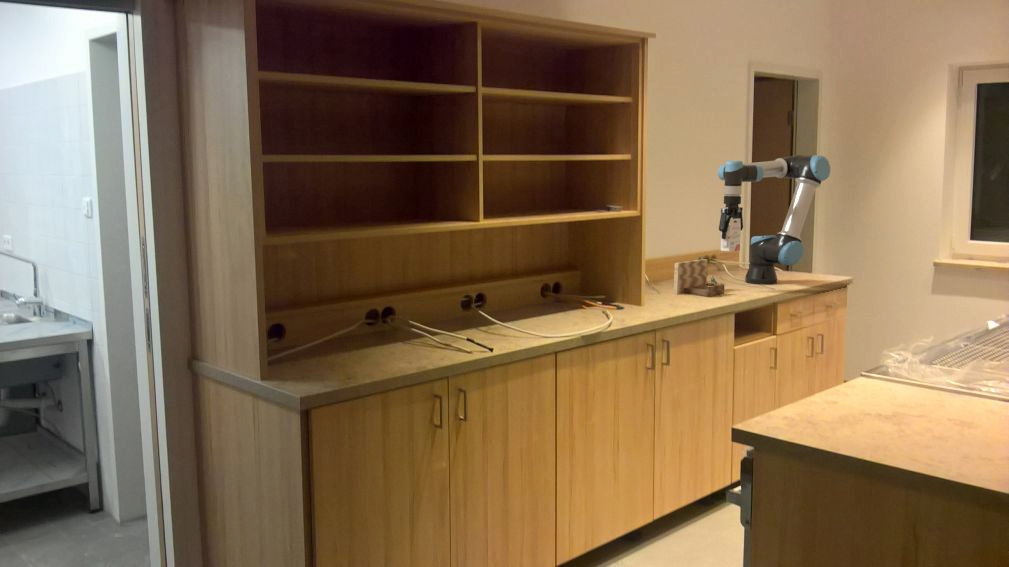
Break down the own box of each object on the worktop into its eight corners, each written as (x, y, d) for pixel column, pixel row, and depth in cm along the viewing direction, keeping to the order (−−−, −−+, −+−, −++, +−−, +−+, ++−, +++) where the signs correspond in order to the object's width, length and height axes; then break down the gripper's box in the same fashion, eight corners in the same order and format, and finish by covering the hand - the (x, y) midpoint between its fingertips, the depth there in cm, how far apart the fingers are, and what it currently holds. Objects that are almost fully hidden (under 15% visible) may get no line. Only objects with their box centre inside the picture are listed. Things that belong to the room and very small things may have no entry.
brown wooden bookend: (702, 289, 394) (703, 259, 391) (730, 293, 383) (731, 262, 380) (673, 293, 379) (674, 262, 377) (701, 298, 368) (702, 266, 366)
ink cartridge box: (730, 249, 390) (732, 217, 388) (740, 250, 386) (741, 218, 384) (719, 250, 384) (721, 218, 382) (729, 251, 381) (730, 219, 378)
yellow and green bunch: (711, 287, 398) (709, 256, 397) (678, 287, 410) (676, 257, 409) (721, 285, 405) (720, 254, 404) (689, 285, 417) (687, 255, 416)
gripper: (738, 194, 391) (736, 243, 395) (711, 195, 377) (709, 246, 381) (753, 194, 386) (750, 244, 389) (726, 196, 372) (723, 247, 375)
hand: (730, 245), depth 385 cm, fingers closed on ink cartridge box, 9 cm apart
